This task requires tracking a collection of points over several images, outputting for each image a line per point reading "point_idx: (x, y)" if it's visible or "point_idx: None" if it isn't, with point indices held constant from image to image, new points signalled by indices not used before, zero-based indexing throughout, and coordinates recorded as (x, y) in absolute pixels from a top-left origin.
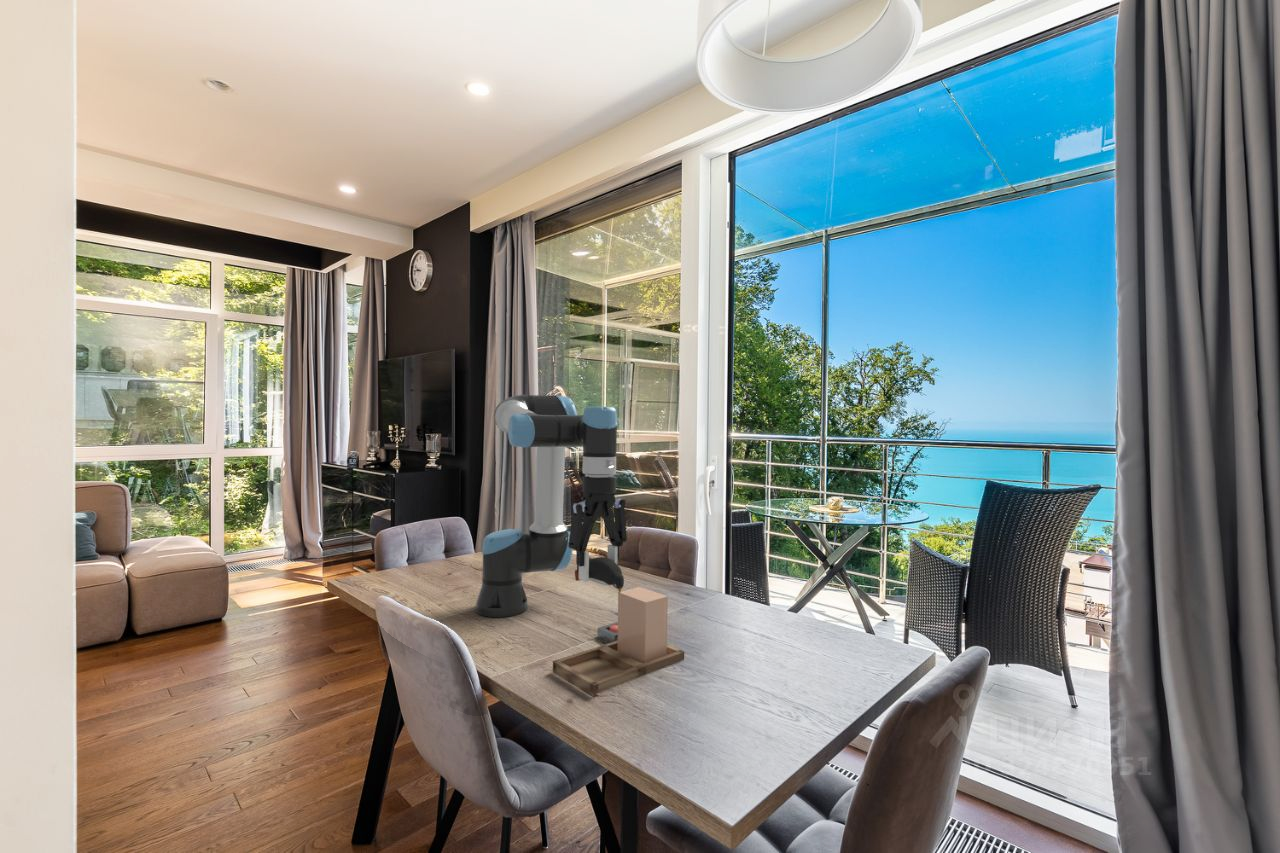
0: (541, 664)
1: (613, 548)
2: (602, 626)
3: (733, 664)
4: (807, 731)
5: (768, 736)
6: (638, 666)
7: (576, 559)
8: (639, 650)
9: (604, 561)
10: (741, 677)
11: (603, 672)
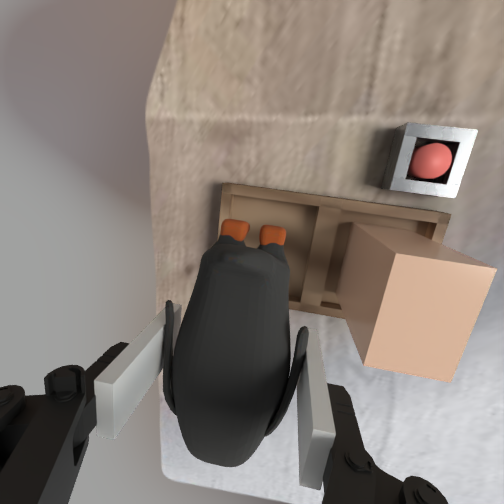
0: (234, 139)
1: (302, 462)
2: (422, 124)
3: None
4: (322, 493)
5: (287, 469)
6: (306, 306)
7: (98, 359)
8: (342, 289)
9: (195, 443)
10: (407, 405)
11: None
